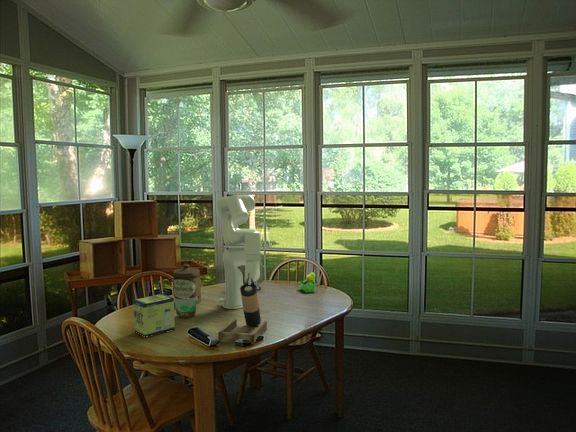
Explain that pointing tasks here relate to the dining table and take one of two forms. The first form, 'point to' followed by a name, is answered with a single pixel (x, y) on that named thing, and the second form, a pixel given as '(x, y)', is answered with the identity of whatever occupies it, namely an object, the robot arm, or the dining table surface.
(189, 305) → the food container
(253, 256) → the robot arm
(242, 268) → the tabletop clock
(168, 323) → the protein box
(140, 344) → the dining table surface
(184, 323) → the dining table surface
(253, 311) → the travel mug
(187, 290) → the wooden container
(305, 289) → the fruit basket
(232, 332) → the tray
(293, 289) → the dining table surface
